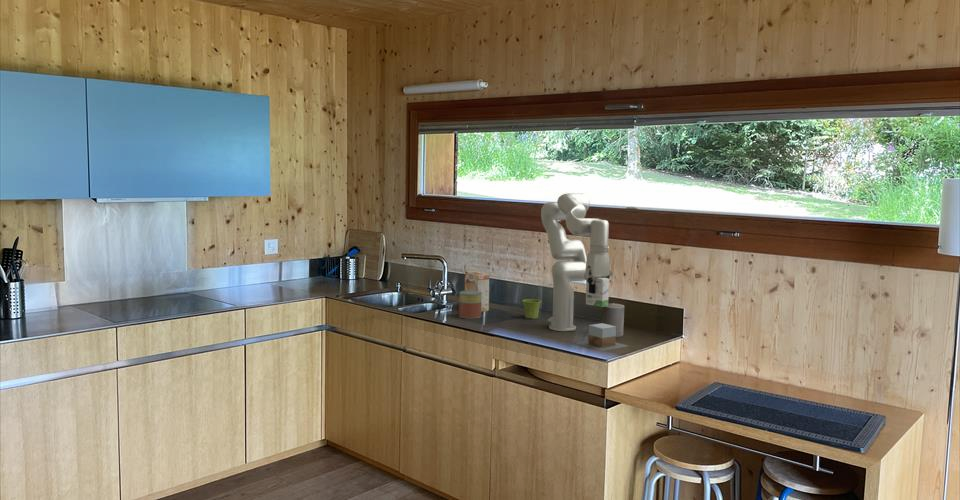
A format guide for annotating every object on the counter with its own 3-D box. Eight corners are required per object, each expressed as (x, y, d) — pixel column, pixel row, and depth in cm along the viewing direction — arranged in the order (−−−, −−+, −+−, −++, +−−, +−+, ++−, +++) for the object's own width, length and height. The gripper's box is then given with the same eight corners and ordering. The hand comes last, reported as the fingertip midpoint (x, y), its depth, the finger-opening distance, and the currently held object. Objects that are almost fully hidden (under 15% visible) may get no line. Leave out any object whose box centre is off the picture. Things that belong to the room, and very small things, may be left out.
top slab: (588, 334, 305) (588, 325, 305) (601, 332, 310) (602, 323, 309) (602, 338, 299) (602, 328, 298) (615, 335, 303) (616, 326, 303)
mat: (574, 344, 307) (574, 343, 306) (601, 339, 316) (601, 338, 316) (602, 351, 294) (602, 351, 294) (629, 346, 303) (629, 345, 303)
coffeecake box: (463, 307, 385) (464, 270, 383) (475, 306, 389) (476, 270, 387) (477, 312, 372) (477, 274, 370) (489, 311, 376) (489, 273, 374)
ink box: (608, 306, 302) (609, 278, 301) (601, 307, 298) (602, 279, 297) (592, 303, 308) (593, 275, 307) (585, 304, 305) (586, 276, 303)
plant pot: (518, 317, 361) (518, 300, 360) (532, 315, 367) (532, 298, 366) (530, 320, 353) (530, 303, 352) (544, 318, 359) (545, 301, 358)
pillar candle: (597, 333, 327) (598, 301, 325) (615, 332, 331) (616, 299, 329) (609, 338, 318) (610, 305, 316) (627, 337, 322) (629, 303, 320)
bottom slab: (588, 343, 306) (588, 334, 305) (601, 341, 310) (601, 332, 310) (601, 347, 299) (602, 338, 299) (615, 345, 304) (615, 335, 303)
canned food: (483, 314, 365) (484, 291, 364) (478, 319, 354) (478, 295, 353) (462, 313, 368) (462, 290, 367) (456, 317, 357) (456, 293, 356)
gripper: (607, 247, 309) (605, 289, 311) (577, 249, 299) (575, 292, 301) (620, 249, 303) (618, 292, 304) (589, 251, 293) (588, 295, 295)
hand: (597, 292), depth 303 cm, fingers closed on ink box, 5 cm apart
